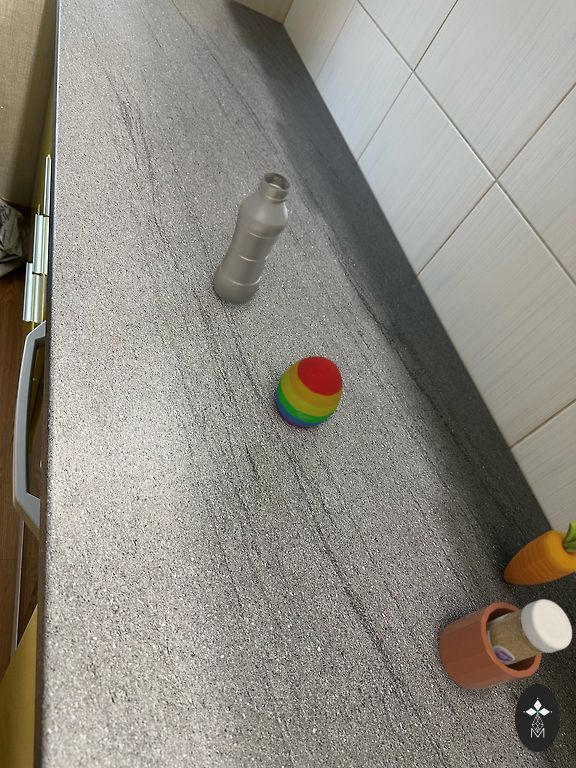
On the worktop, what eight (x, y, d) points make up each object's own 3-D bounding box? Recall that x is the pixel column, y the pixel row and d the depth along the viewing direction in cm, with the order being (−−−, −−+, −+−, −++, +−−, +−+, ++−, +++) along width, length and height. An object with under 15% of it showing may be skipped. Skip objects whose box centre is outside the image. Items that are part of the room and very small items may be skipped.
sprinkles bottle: (450, 663, 63) (532, 634, 53) (456, 624, 66) (534, 589, 56) (486, 682, 63) (574, 657, 53) (490, 642, 66) (574, 611, 56)
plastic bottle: (205, 275, 85) (244, 160, 70) (247, 277, 88) (293, 167, 73) (214, 308, 82) (258, 195, 67) (258, 309, 85) (308, 201, 70)
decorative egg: (301, 446, 73) (333, 404, 66) (256, 403, 75) (282, 357, 67) (336, 414, 79) (369, 372, 71) (294, 374, 80) (322, 329, 73)
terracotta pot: (480, 618, 68) (524, 599, 62) (502, 685, 64) (552, 672, 58) (430, 624, 66) (471, 604, 60) (450, 694, 62) (496, 681, 56)
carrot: (481, 564, 73) (565, 518, 62) (508, 555, 75) (593, 509, 64) (501, 603, 71) (591, 563, 59) (528, 593, 73) (620, 552, 62)
